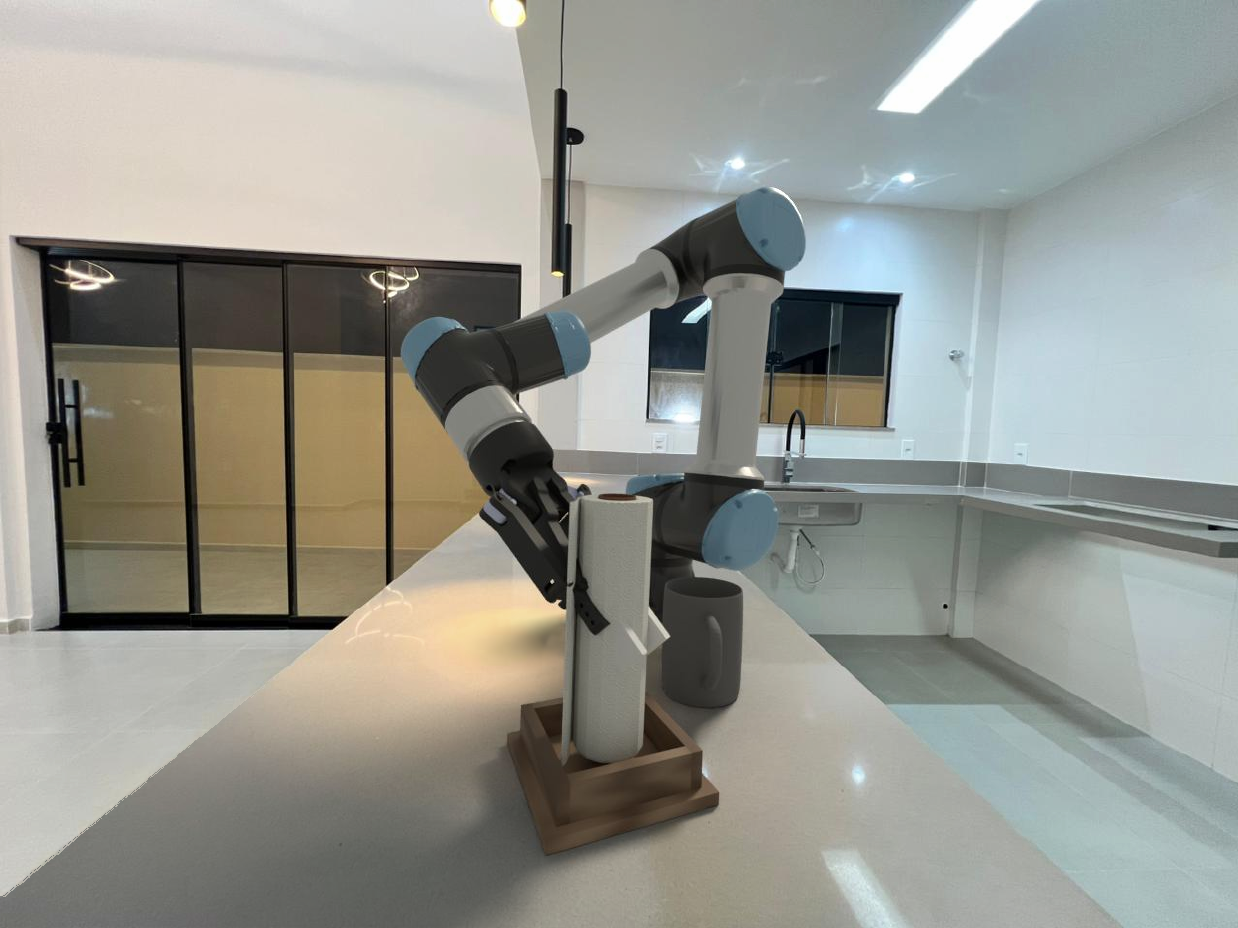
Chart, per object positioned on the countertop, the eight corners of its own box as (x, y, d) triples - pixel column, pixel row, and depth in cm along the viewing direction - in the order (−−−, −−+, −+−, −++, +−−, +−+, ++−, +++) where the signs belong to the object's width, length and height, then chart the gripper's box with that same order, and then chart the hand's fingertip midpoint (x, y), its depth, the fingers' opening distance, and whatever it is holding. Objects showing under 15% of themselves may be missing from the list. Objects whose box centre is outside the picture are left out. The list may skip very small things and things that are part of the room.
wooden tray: (642, 715, 54) (643, 678, 54) (718, 804, 41) (720, 754, 41) (507, 743, 48) (507, 701, 48) (545, 855, 35) (546, 798, 35)
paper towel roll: (635, 722, 48) (644, 492, 47) (650, 763, 42) (661, 500, 41) (556, 726, 46) (564, 490, 45) (560, 769, 41) (570, 499, 39)
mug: (657, 670, 65) (660, 575, 64) (730, 672, 65) (734, 577, 64) (668, 731, 51) (671, 611, 50) (760, 734, 51) (765, 613, 50)
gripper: (536, 468, 58) (662, 646, 50) (410, 474, 45) (556, 720, 37) (574, 421, 55) (716, 602, 47) (452, 412, 42) (622, 666, 34)
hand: (646, 653), depth 42 cm, fingers closed on paper towel roll, 3 cm apart
